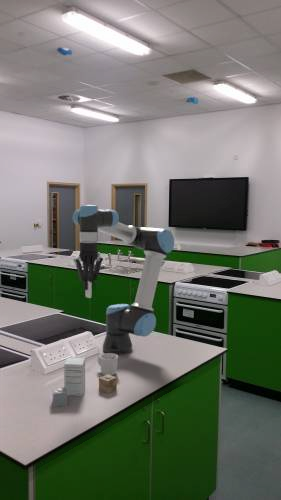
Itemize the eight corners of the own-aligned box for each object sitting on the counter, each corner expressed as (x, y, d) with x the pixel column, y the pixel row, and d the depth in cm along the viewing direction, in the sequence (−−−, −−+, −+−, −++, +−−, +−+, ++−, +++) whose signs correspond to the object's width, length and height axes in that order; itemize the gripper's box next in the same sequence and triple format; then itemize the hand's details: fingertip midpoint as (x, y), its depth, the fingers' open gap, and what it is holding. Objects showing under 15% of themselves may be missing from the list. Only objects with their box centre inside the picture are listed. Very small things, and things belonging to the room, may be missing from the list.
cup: (91, 372, 192) (91, 354, 191) (105, 367, 198) (105, 350, 197) (108, 379, 185) (108, 360, 184) (121, 373, 191) (121, 356, 190)
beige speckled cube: (107, 385, 178) (107, 373, 178) (116, 389, 175) (116, 377, 174) (98, 389, 174) (98, 377, 174) (107, 393, 171) (107, 380, 170)
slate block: (66, 399, 165) (66, 386, 164) (67, 405, 160) (67, 392, 160) (52, 400, 164) (52, 387, 163) (53, 406, 159) (53, 393, 158)
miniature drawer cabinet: (67, 387, 176) (67, 357, 174) (85, 388, 176) (85, 357, 174) (63, 395, 168) (63, 363, 167) (82, 396, 168) (82, 364, 167)
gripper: (98, 240, 189) (97, 294, 192) (70, 241, 182) (70, 297, 184) (106, 242, 183) (106, 297, 185) (78, 243, 176) (78, 300, 178)
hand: (88, 297), depth 185 cm, fingers closed
